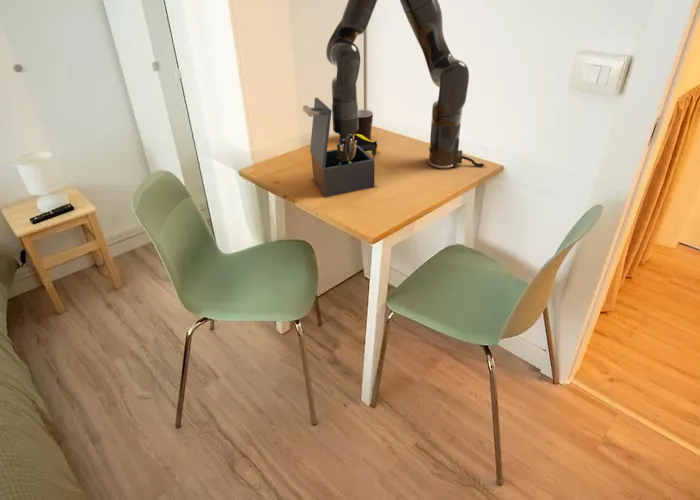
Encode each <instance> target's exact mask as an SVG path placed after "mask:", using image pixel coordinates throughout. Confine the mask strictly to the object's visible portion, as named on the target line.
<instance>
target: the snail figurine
mask: <svg viewBox="0 0 700 500" xmlns="http://www.w3.org/2000/svg"><path fill="white" fill-rule="evenodd" d="M356 142H357V140H355V142H354V144H353V145H352V148H353V149H352V152H351V153H350V154H349V164H350V163H352V162H350V160H352V159H353V158H354V156H355V152H356V148H357V145H356V144H355V143H356ZM347 151H348V150H347ZM337 154H338V149H337ZM337 158H338V157H337ZM343 158H345V156H343ZM338 160H339V159H338ZM339 165H341V162H340V163H339V164H338V166H339Z"/></svg>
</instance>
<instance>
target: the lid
mask: <svg viewBox="0 0 700 500" xmlns="http://www.w3.org/2000/svg"><path fill="white" fill-rule="evenodd" d="M313 106H314V107H310V106H308V105H305V104H304V105H303V106H302V111H303V112H304V113H305V115H307V116H308V117H310V118H312V126H311V137H310V146H309V148H310V149H309V153H310V155H311V154H312V155H313V157H314V158H315V159H316V160H317V162H318V163H319V164H320V165H321V167H322V168H325V165H326V156H327V151H328V147H329V136H330V128H331V121H332V119H331V118H332V108H331V107H329V106H328V105H326V104H325V103H324V102H323V101H322V100H320V98H319V97H314V104H313Z"/></svg>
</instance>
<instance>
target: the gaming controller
mask: <svg viewBox="0 0 700 500" xmlns="http://www.w3.org/2000/svg"><path fill="white" fill-rule="evenodd" d="M355 140H357V142H356V143H355ZM354 144H356V145H357V146H358V145H359V146H360V147H361V148H362V149H363V150H364V151H365V152H366V153H367V154H368V155H369V156H371V157H372V158H373V159H374V157H375V156H376V155H377V154H378V153H379V147H378V146H379V141H376V140H375V141H371V139H370V140H368V139H367V138H365V137H364V136H363V135H360V134H356V135H354Z"/></svg>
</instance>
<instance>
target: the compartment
mask: <svg viewBox="0 0 700 500" xmlns="http://www.w3.org/2000/svg"><path fill="white" fill-rule="evenodd" d="M310 155H311V157H310V158H311V167H312V180H313V181H314V183H315V184H316V186H317V187H318V188H319V190H320V191H321V192H322V194H323V195H324V196H325V198H327V197H332V196H338V195H343V194H346V193H352V192H357V191H362V190H366V189H371V188H375V159H374V157H373V158H372V157H371V156H369V155H368V154H367V153H366V152H365V151H364V150H363V149H362V148H361V147H360V146H359V145H358V146H357V148H356V152H355V156H354V158H353V163H350V164H345V165H339V166H338V164H339V163H340V162H339V161H338V158H337V157H338V154H337V149H330V150H327V156H326V165H325V168H322V167H321V165H320V164H319V163H318V162H317V160H316V159H315V158H314V157H313V155H312V154H311V153H310Z"/></svg>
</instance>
